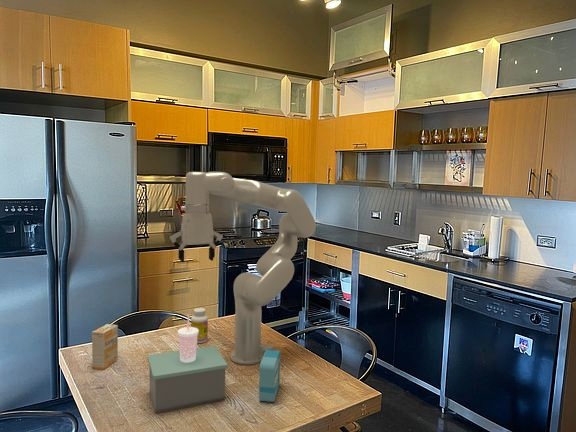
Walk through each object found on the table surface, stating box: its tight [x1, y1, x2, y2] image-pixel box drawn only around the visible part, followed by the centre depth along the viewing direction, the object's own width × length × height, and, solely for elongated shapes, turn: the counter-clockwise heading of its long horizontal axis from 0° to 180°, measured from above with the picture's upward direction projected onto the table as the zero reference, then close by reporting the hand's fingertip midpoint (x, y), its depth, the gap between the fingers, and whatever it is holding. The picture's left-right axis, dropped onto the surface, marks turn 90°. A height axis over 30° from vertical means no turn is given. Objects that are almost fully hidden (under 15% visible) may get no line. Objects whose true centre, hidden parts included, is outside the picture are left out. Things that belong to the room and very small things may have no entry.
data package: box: [258, 349, 281, 403], centre depth 133 cm, size 12×4×12 cm, turn 173°
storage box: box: [149, 368, 226, 414], centre depth 131 cm, size 20×14×10 cm
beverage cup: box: [177, 313, 199, 363], centre depth 130 cm, size 6×6×14 cm
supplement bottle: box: [190, 307, 209, 344], centre depth 173 cm, size 7×7×13 cm
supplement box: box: [91, 323, 119, 371], centre depth 150 cm, size 8×5×13 cm, turn 168°
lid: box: [147, 345, 229, 380], centre depth 130 cm, size 21×15×1 cm
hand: (196, 260), depth 144 cm, fingers open, 9 cm apart
